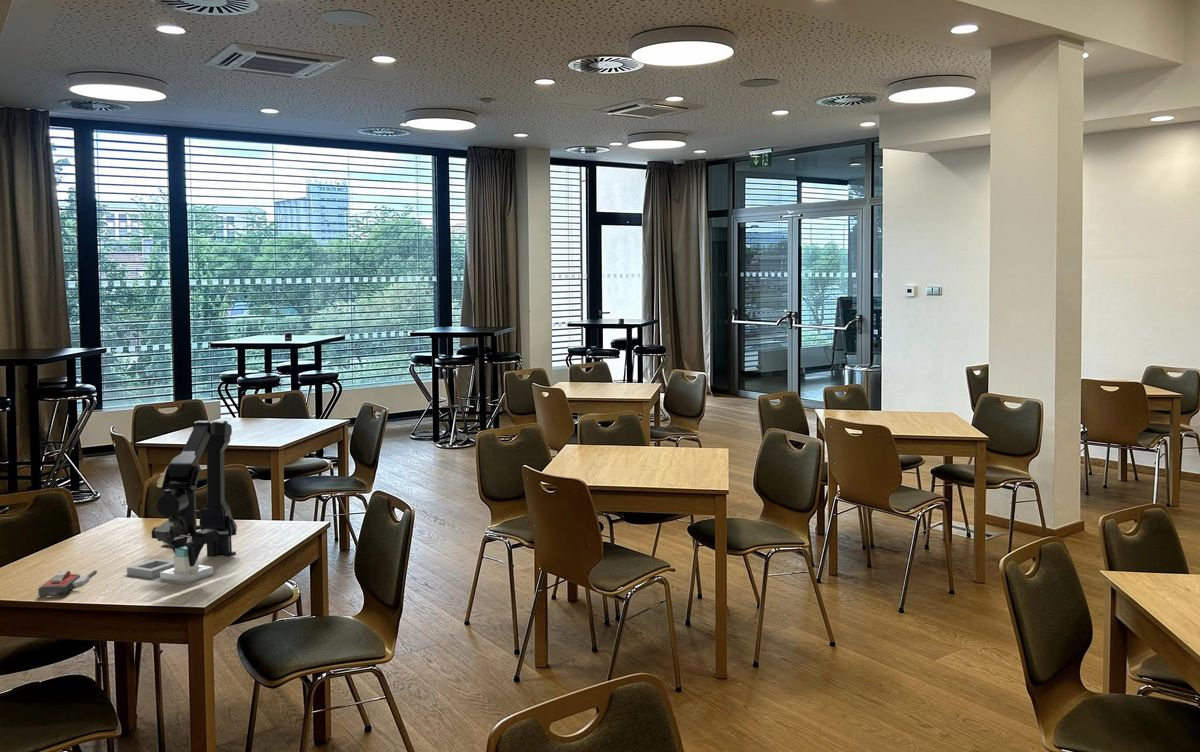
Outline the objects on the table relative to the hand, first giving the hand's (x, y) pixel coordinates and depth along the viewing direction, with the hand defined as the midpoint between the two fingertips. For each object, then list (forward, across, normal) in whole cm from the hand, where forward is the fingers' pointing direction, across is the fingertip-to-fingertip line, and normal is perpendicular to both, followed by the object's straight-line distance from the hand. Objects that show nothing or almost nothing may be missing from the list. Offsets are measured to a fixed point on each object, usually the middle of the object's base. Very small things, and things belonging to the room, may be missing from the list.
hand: (186, 565), depth 262 cm
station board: (+4, -6, 0) cm, 7 cm away
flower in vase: (+4, -31, +27) cm, 41 cm away
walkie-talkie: (+4, -24, -17) cm, 29 cm away
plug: (+3, 0, 0) cm, 3 cm away
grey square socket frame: (+4, -12, 0) cm, 13 cm away
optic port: (+4, 0, 0) cm, 4 cm away
